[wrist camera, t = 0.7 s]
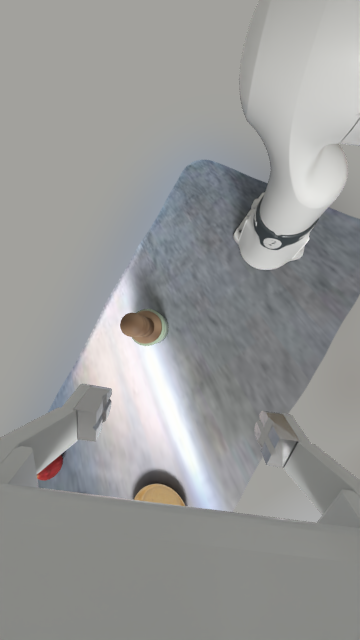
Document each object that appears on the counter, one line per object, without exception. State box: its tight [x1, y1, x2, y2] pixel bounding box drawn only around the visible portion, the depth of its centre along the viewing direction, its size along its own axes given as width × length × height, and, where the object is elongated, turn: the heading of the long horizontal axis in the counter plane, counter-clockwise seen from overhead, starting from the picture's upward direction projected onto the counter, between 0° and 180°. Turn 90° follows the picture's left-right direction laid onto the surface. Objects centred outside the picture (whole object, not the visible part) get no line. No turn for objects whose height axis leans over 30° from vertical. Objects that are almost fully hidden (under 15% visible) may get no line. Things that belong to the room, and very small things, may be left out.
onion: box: [37, 455, 63, 480], centre depth 49 cm, size 6×6×8 cm
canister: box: [132, 309, 168, 346], centre depth 49 cm, size 10×10×6 cm
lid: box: [120, 311, 162, 344], centre depth 42 cm, size 8×8×9 cm
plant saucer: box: [134, 483, 185, 506], centre depth 46 cm, size 15×15×3 cm
